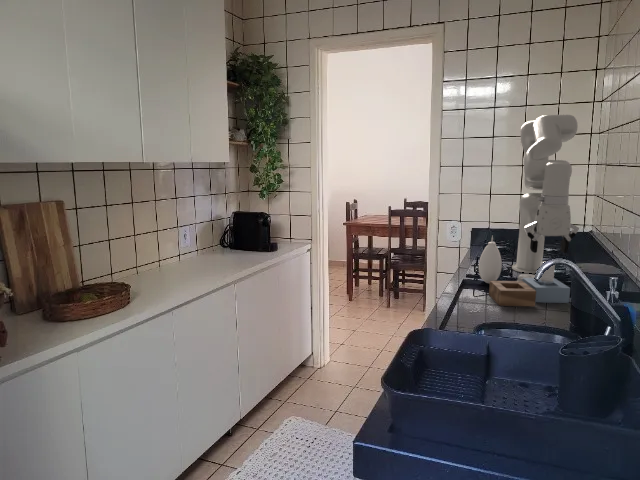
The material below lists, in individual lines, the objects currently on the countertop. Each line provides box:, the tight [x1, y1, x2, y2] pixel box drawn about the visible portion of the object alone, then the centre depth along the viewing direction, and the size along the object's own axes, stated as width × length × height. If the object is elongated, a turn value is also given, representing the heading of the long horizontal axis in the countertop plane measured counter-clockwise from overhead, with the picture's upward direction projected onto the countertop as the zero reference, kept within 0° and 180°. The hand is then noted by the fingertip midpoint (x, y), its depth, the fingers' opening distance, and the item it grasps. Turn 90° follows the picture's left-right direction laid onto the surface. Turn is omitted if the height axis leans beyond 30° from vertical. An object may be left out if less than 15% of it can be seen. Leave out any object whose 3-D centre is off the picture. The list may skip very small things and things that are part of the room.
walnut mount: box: [488, 280, 536, 307], centre depth 153 cm, size 11×11×5 cm
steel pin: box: [538, 260, 556, 286], centre depth 156 cm, size 4×4×12 cm
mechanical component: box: [517, 273, 536, 281], centre depth 167 cm, size 10×4×10 cm
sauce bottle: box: [478, 235, 503, 285], centre depth 171 cm, size 8×8×18 cm
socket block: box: [522, 278, 571, 304], centre depth 156 cm, size 11×11×5 cm
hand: (548, 251), depth 154 cm, fingers open, 9 cm apart
